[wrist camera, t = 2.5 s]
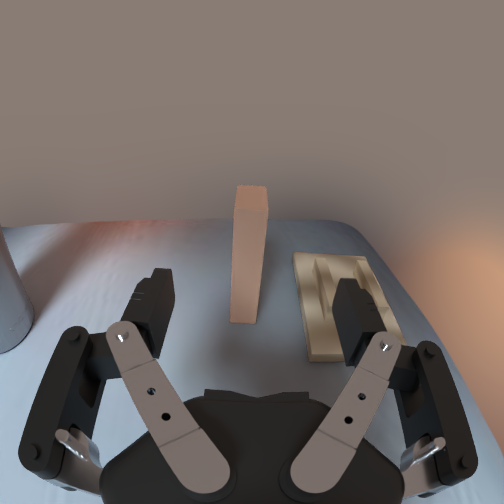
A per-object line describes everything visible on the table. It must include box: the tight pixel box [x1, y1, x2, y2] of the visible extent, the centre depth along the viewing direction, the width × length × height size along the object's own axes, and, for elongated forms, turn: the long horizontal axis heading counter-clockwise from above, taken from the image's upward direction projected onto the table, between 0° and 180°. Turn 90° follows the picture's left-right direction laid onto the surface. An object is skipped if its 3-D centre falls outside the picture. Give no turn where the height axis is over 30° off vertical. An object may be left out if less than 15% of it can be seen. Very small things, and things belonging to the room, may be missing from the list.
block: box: [230, 185, 269, 324], centre depth 26 cm, size 5×2×12 cm, turn 179°
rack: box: [292, 252, 407, 362], centre depth 30 cm, size 16×10×3 cm, turn 179°
